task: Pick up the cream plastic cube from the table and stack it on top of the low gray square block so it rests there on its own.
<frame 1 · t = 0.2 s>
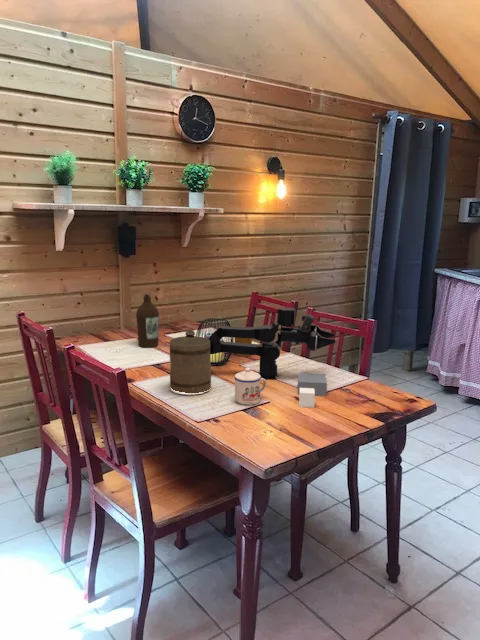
hand: (334, 338, 189), 17 cm above the table, tool horizontal, fingers open, 9 cm apart
teacup with lid: (251, 400, 172), on the table
cream cube: (306, 404, 168), on the table
olive oil: (148, 345, 240), on the table
gray square block: (311, 390, 182), on the table
wooden container: (190, 389, 182), on the table
disposable coffee cup: (243, 355, 226), on the table
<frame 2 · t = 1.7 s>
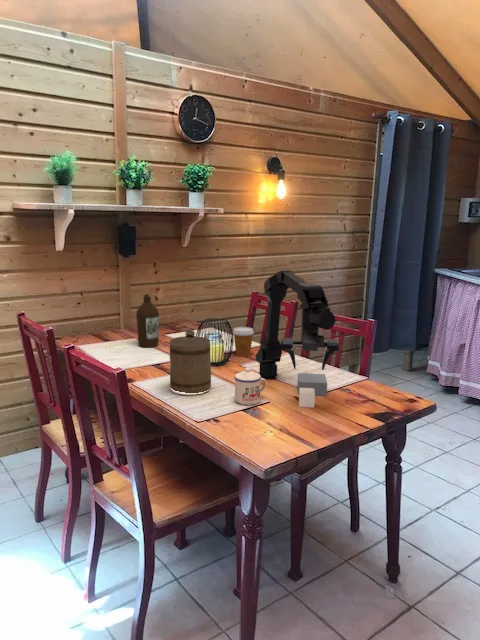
hand: (308, 369, 166), 12 cm above the table, tool pointing down, fingers open, 9 cm apart
nothing on the table moved.
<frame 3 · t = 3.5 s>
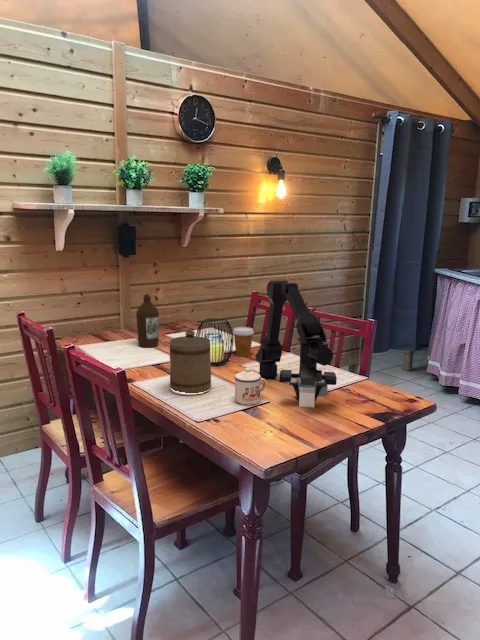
hand: (306, 401, 168), 1 cm above the table, tool pointing down, fingers closed on cream cube, 5 cm apart
cream cube: (306, 404, 168), on the table, touching gripper
everything else where it was.
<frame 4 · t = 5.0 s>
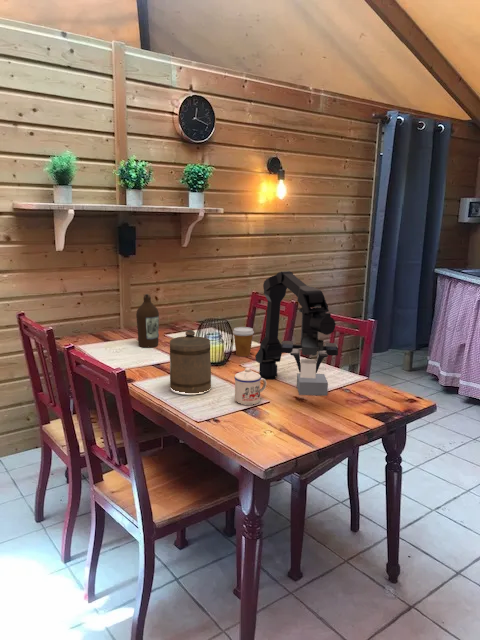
hand: (307, 372, 168), 11 cm above the table, tool pointing down, fingers closed on cream cube, 5 cm apart
cream cube: (307, 375, 168), point 10 cm above the table, touching gripper
everything else where it was.
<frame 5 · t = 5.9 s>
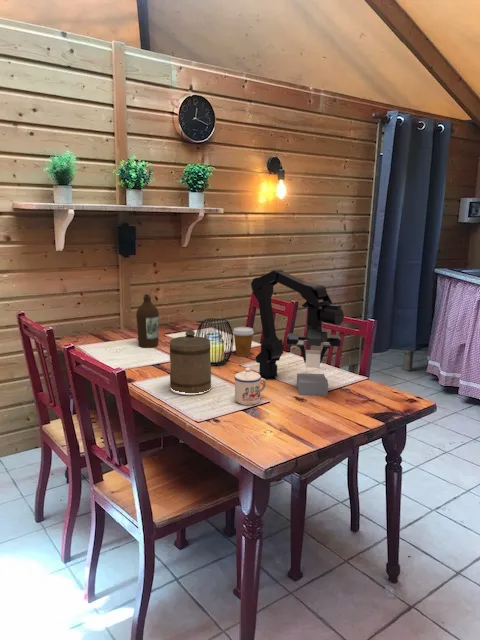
hand: (312, 362, 179), 10 cm above the table, tool pointing down, fingers closed on cream cube, 5 cm apart
cream cube: (312, 365, 180), point 9 cm above the table, touching gripper
everything else where it was.
when the fingers open (7 cm above the table, at t = 6.7 s): cream cube drops 2 cm, point 5 cm above the table.
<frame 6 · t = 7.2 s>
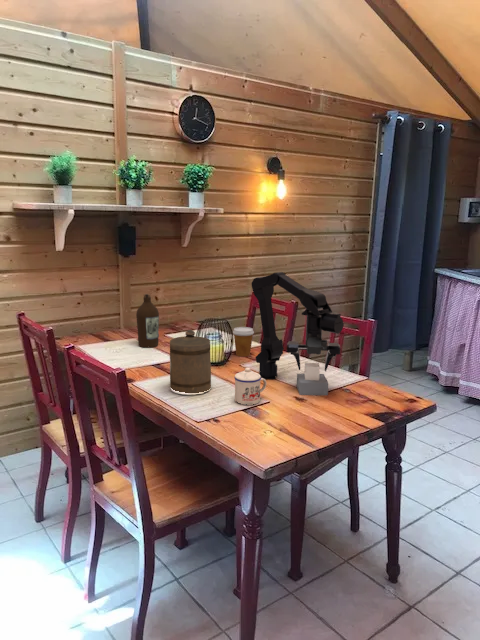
hand: (312, 370, 180), 7 cm above the table, tool pointing down, fingers open, 9 cm apart
cream cube: (311, 377, 181), point 5 cm above the table
everything else where it was.
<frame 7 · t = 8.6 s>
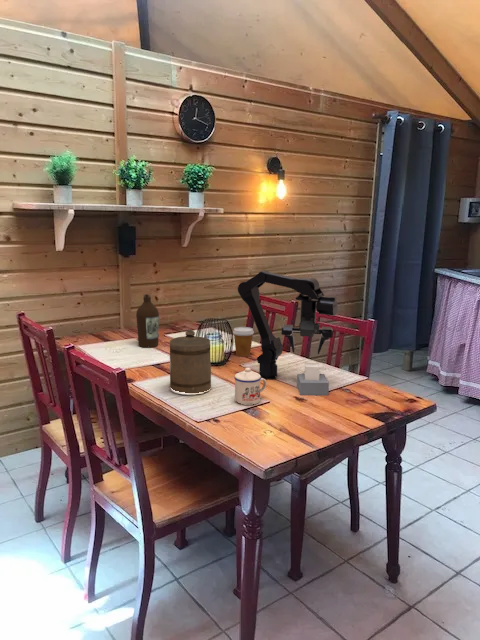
hand: (305, 353, 187), 12 cm above the table, tool pointing down, fingers open, 9 cm apart
cream cube: (311, 377, 181), point 5 cm above the table, touching gray square block
gray square block: (312, 391, 182), on the table, touching cream cube
everything else where it was.
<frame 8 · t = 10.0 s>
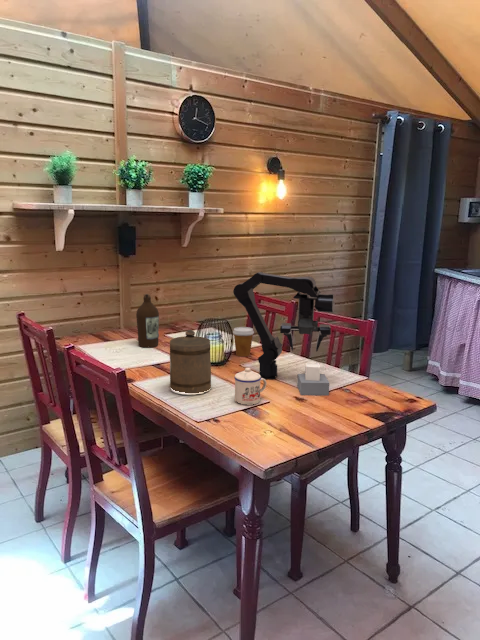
hand: (304, 350, 189), 12 cm above the table, tool pointing down, fingers open, 9 cm apart
nothing on the table moved.
at the end: cream cube 0.5 cm off-centre on the gray square block, point 5.0 cm above the gray square block's base; the gripper is holding nothing; cream cube tilted 0° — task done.
